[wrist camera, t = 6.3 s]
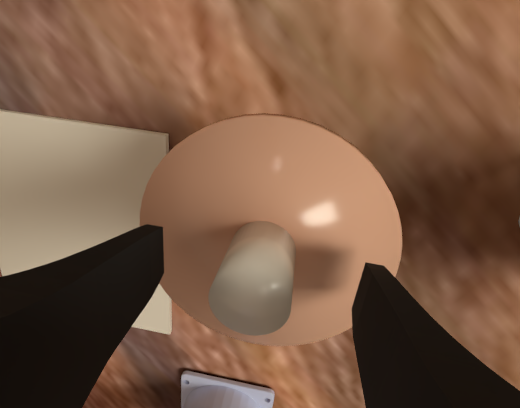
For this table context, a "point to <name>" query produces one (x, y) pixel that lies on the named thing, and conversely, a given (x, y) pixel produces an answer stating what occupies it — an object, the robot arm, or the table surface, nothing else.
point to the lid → (270, 227)
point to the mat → (73, 192)
